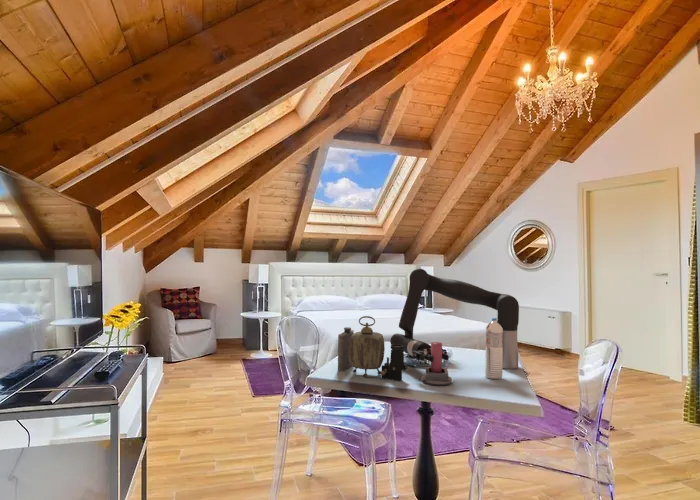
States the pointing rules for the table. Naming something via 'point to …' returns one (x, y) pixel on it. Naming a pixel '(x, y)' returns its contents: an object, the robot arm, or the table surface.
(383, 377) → the scope
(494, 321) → the water bottle
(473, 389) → the table surface
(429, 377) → the candle holder
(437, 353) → the candle
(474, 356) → the table surface
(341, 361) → the flask
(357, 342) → the tabletop clock
